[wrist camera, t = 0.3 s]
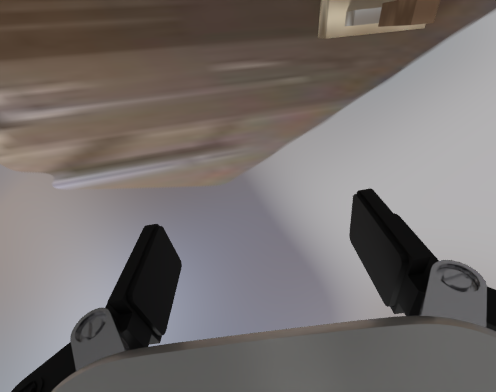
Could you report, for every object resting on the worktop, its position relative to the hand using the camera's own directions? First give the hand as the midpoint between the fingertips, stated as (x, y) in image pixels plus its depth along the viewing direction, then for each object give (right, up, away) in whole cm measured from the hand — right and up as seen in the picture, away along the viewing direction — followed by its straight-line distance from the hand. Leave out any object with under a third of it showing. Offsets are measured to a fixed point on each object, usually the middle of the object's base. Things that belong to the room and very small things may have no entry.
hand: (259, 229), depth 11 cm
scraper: (+17, +27, +21) cm, 38 cm away
